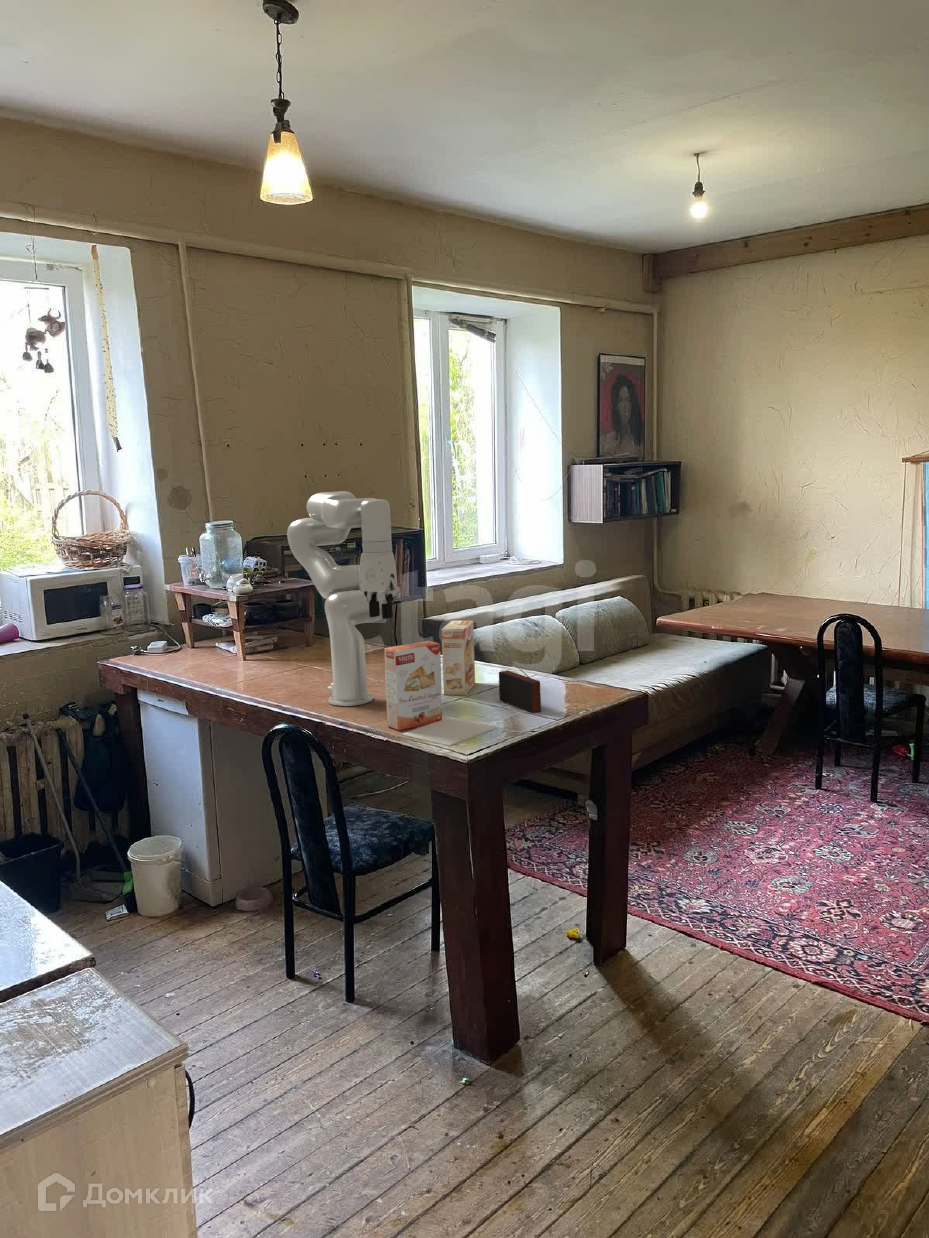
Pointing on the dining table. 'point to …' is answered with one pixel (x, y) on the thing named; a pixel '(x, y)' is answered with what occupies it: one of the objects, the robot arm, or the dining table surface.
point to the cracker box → (413, 684)
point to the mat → (449, 731)
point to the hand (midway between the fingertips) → (381, 616)
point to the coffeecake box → (458, 657)
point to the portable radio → (519, 690)
